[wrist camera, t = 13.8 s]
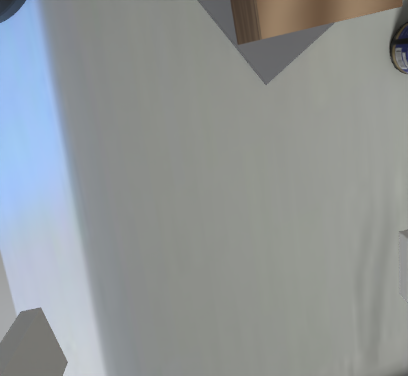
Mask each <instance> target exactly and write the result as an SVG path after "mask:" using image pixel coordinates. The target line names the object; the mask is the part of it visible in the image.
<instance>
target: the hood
mask: <svg viewBox="0 0 408 376" xmlns="http://www.w3.org/2000/svg"><path fill="white" fill-rule="evenodd" d="M230 2H231V8H232V14H233V20H234V26H235V32H236V38H237V44H238V45H240V44H244V43H249V42H253V41H257V40H261V39H266V38H270V37H274V36H279V35H283V34H287V33H291V32H296V31H300V30H304V29H308V28H313V27H317V26H321V25H325V24H330V23H334V22H338V21H342V20H346V19H351V18H355V17H359V16H363V15H368V14H372V13H376V12H380V11H385V10H389V9H393V8H397V7H402V0H230Z"/></svg>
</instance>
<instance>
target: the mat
mask: <svg viewBox="0 0 408 376" xmlns="http://www.w3.org/2000/svg"><path fill="white" fill-rule="evenodd" d="M198 1H199V3H200V4H201V5H202V6H203V8H204V9H205V10H206V11H207V13H208V14H209V15H210V16H211V17H212V19H213V20H214V21H215V22H216V24H217V25H218V26H219V27H220V29H221V30H222V31H223V32H224V34H225V35H226V36H227V37H228V39H229V40H230V41H231V42H232V44H233V45H234V46H235V47H236V48H237V50H238V51H239V52H240V53H241V55H242V56H243V57H244V58H245V60H246V61H247V62H248V63H249V65H250V66H251V67H252V68H253V70H254V71H255V72H256V73H257V75H258V76H259V77H260V78H261V79H262V81H263V82H264V83H265V84H266V85H267V84H268V83H269V82H270V81H271V80H272V79H273V78H274V77H275V76H277V75H278V74H279V73H280V72H281V71H282V70H283V69H284V68H285V67H286V66H288V65H289V64H290V63H291V62H292V61H293V60H294V59H295V58H296V57H298V56H299V55H300V54H301V53H302V52H303V51H304V50H305V49H306V48H307V47H309V46H310V45H311V44H312V43H313V42H314V41H315V40H316V39H317V38H318V37H320V36H321V35H322V34H323V33H324V32H325V31H326V30H327V29H328V28H329V27H331V26H332V25H333V24H334V23H335V22H334V23H330V24H325V25H321V26H317V27H313V28H308V29H304V30H300V31H296V32H291V33H287V34H283V35H279V36H274V37H270V38H266V39H261V40H257V41H253V42H249V43H244V44H240V45H238V44H237V38H236V32H235V26H234V20H233V14H232V8H231V2H230V0H198Z"/></svg>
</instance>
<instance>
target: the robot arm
mask: <svg viewBox="0 0 408 376" xmlns="http://www.w3.org/2000/svg"><path fill="white" fill-rule="evenodd" d="M25 1H26V0H0V23H1V22H3V21H5V20H7V19H8V18H10V17H11V16H13V15H14V14H15V13H16V12H17V11H18V10H19V9H20V8H21V7H22V5H23V4H24V2H25ZM399 283H400V295H401V296H402V297H403V298H404V299H405V301H406V302H407V303H408V230H404V231H399ZM67 363H68V362H67V360H66V358H65V356H64V354H63V351H62V349H61V347H60V345H59V343H58V341H57V339H56V337H55V335H54V333H53V331H52V329H51V327H50V325H49V323H48V321H47V319H46V317H45V315H44V313H43V311H42V309H41V308H36V309H31V310H26V311H22V312H20V314H19V315H18V317H17V318H16V320H15V321H14V323H13V324H12V326H11V327H10V329H9V331H8V332H7V333H6V335H5V337H4V338H3V340H2V341H1V343H0V376H63V373H64V371H65V368H66V366H67Z"/></svg>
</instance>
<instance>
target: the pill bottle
mask: <svg viewBox="0 0 408 376" xmlns="http://www.w3.org/2000/svg"><path fill="white" fill-rule="evenodd" d="M390 56H391V61H392V63H393V65H394V67H395V68H396V69H397V70H399V71H400V72H402V73H405V74H408V22H407V23H405V24H404V25H403V26H402V27H400V29H399V30H398V31H397V32H396V34H395V36H394V38H393V41H392V44H391V48H390Z"/></svg>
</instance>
